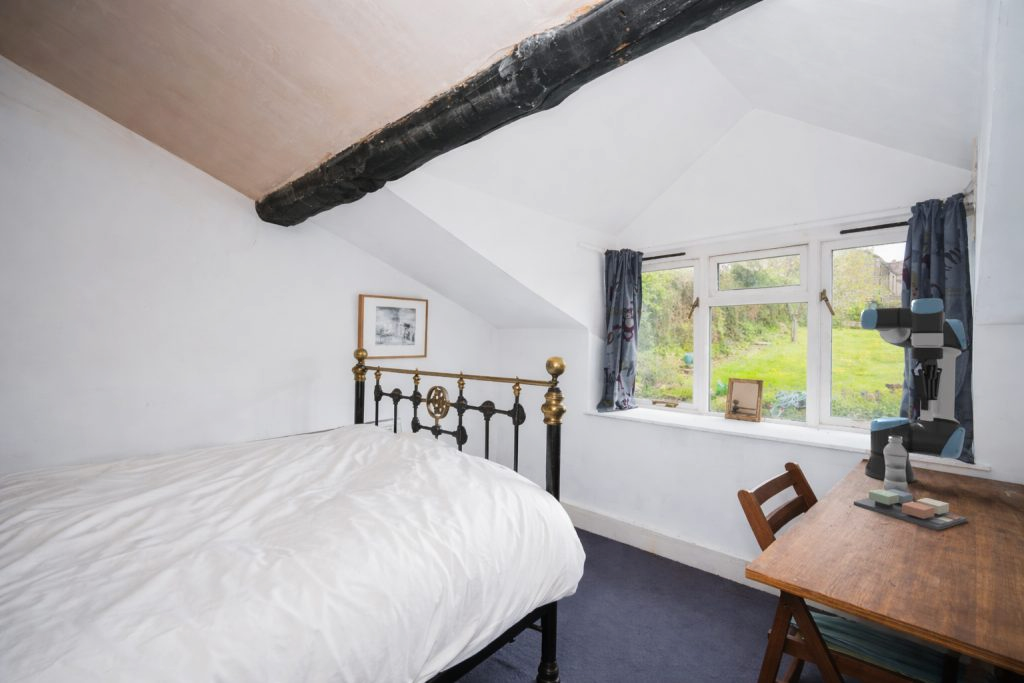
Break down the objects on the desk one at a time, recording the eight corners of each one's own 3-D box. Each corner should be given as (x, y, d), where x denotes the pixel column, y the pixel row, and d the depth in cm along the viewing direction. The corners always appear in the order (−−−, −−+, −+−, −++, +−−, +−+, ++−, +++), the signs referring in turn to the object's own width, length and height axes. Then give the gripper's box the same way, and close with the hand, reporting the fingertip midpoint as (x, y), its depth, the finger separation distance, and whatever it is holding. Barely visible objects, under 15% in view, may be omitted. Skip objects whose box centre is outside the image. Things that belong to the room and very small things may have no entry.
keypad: (882, 497, 155) (882, 488, 155) (967, 521, 135) (967, 511, 135) (853, 504, 149) (853, 495, 149) (937, 530, 129) (937, 520, 129)
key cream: (926, 505, 143) (926, 497, 143) (948, 511, 138) (948, 503, 138) (916, 508, 141) (916, 500, 141) (939, 514, 136) (939, 506, 136)
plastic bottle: (913, 496, 156) (913, 438, 156) (893, 496, 156) (893, 438, 156) (897, 490, 162) (897, 434, 162) (878, 490, 162) (878, 434, 162)
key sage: (879, 496, 148) (879, 489, 148) (898, 502, 143) (898, 494, 143) (868, 499, 146) (868, 491, 146) (888, 504, 141) (888, 496, 141)
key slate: (893, 496, 151) (893, 488, 151) (913, 501, 146) (913, 494, 146) (883, 498, 149) (883, 491, 149) (903, 504, 144) (903, 496, 144)
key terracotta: (912, 509, 140) (912, 501, 140) (934, 515, 135) (934, 507, 135) (901, 512, 138) (901, 504, 138) (924, 518, 133) (924, 510, 133)
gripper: (923, 346, 151) (923, 416, 151) (901, 346, 146) (901, 419, 146) (952, 346, 144) (952, 420, 144) (930, 347, 139) (930, 423, 139)
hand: (926, 420), depth 145 cm, fingers closed
